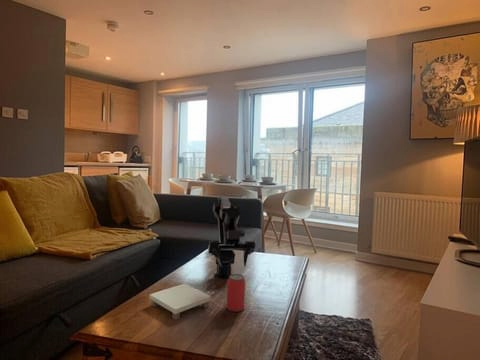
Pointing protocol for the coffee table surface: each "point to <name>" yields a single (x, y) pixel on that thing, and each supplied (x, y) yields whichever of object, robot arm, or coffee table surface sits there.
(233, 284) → the beer can
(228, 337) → the coffee table surface
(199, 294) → the white square platform
